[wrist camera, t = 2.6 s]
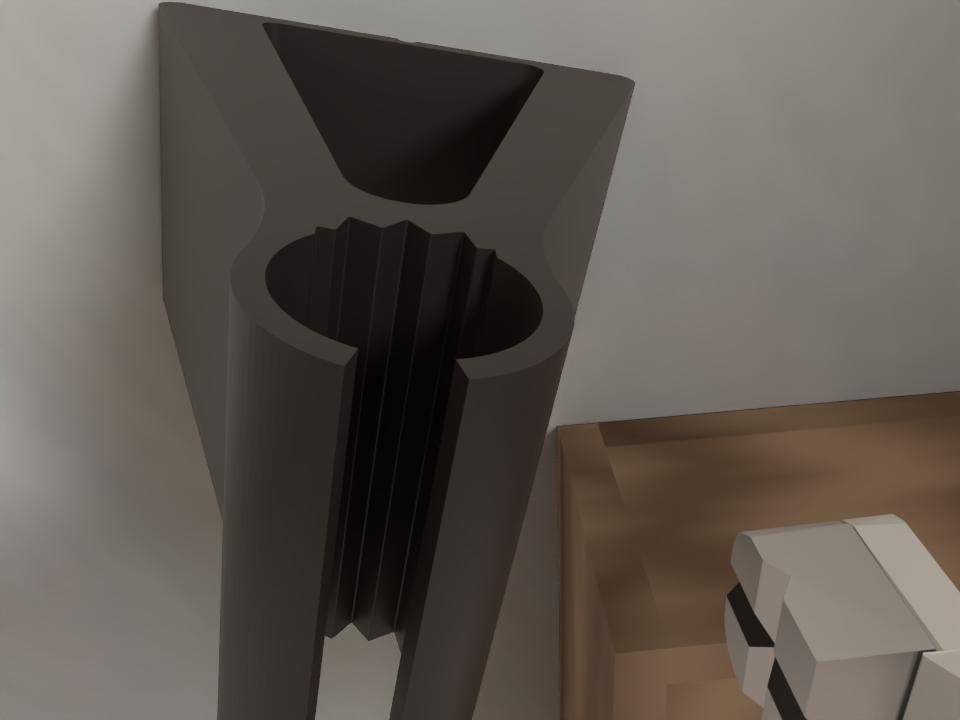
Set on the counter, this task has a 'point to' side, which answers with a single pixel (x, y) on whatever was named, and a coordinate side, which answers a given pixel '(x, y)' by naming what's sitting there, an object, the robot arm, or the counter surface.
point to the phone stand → (370, 330)
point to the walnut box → (721, 533)
